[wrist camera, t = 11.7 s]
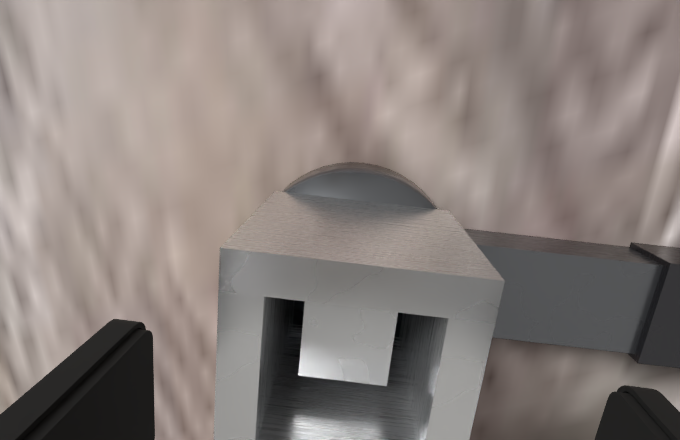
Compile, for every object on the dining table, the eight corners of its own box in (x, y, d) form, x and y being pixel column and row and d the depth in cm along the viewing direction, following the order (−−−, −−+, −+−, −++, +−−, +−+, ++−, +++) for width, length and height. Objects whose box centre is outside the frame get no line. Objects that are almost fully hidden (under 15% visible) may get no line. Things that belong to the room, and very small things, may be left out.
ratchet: (868, 218, 17) (1174, 288, 10) (789, 395, 19) (1003, 542, 13) (262, 151, 17) (205, 181, 11) (252, 332, 19) (200, 443, 13)
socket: (448, 210, 15) (504, 281, 9) (421, 363, 16) (454, 506, 11) (274, 191, 15) (220, 248, 9) (264, 344, 17) (212, 475, 11)
